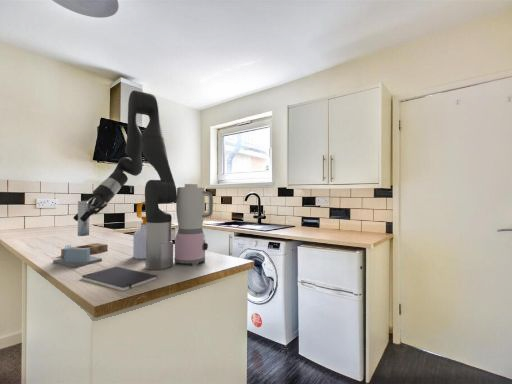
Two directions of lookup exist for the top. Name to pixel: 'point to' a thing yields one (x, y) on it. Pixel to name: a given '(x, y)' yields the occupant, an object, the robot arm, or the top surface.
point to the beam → (92, 248)
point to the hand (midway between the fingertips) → (78, 219)
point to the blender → (191, 224)
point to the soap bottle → (140, 236)
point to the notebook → (119, 278)
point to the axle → (82, 226)
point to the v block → (76, 257)
